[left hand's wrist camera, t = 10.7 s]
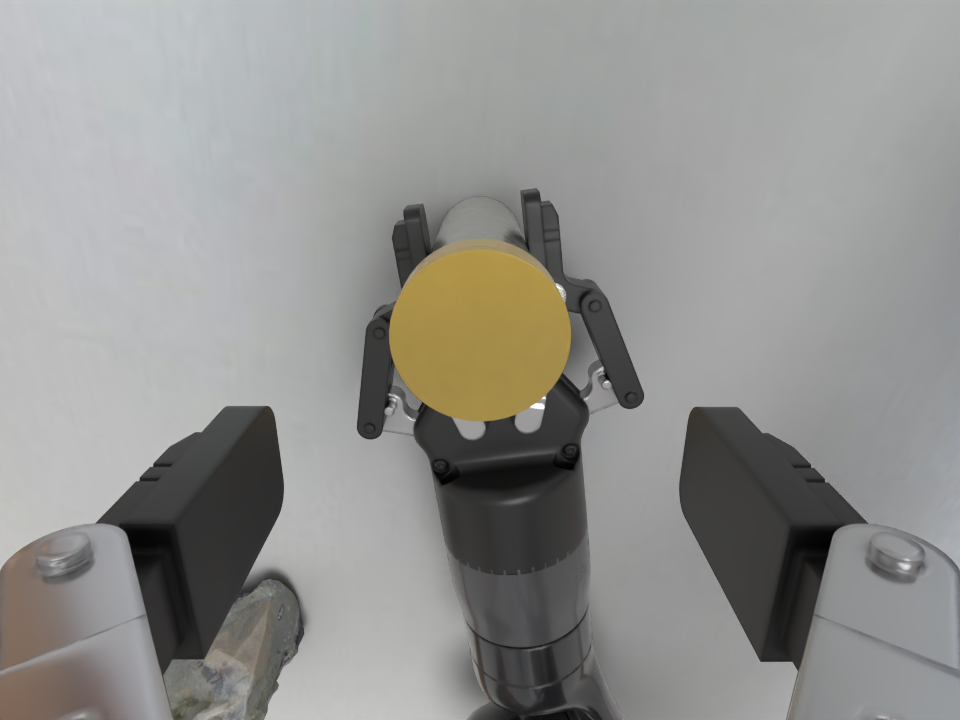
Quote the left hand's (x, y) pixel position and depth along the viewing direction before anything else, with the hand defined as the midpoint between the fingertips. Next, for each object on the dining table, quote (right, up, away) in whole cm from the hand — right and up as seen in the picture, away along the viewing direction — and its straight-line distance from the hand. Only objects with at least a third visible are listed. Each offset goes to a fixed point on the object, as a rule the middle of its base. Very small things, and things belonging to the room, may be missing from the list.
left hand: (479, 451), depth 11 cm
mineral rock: (-19, -16, +31) cm, 40 cm away
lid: (0, +2, +6) cm, 7 cm away
